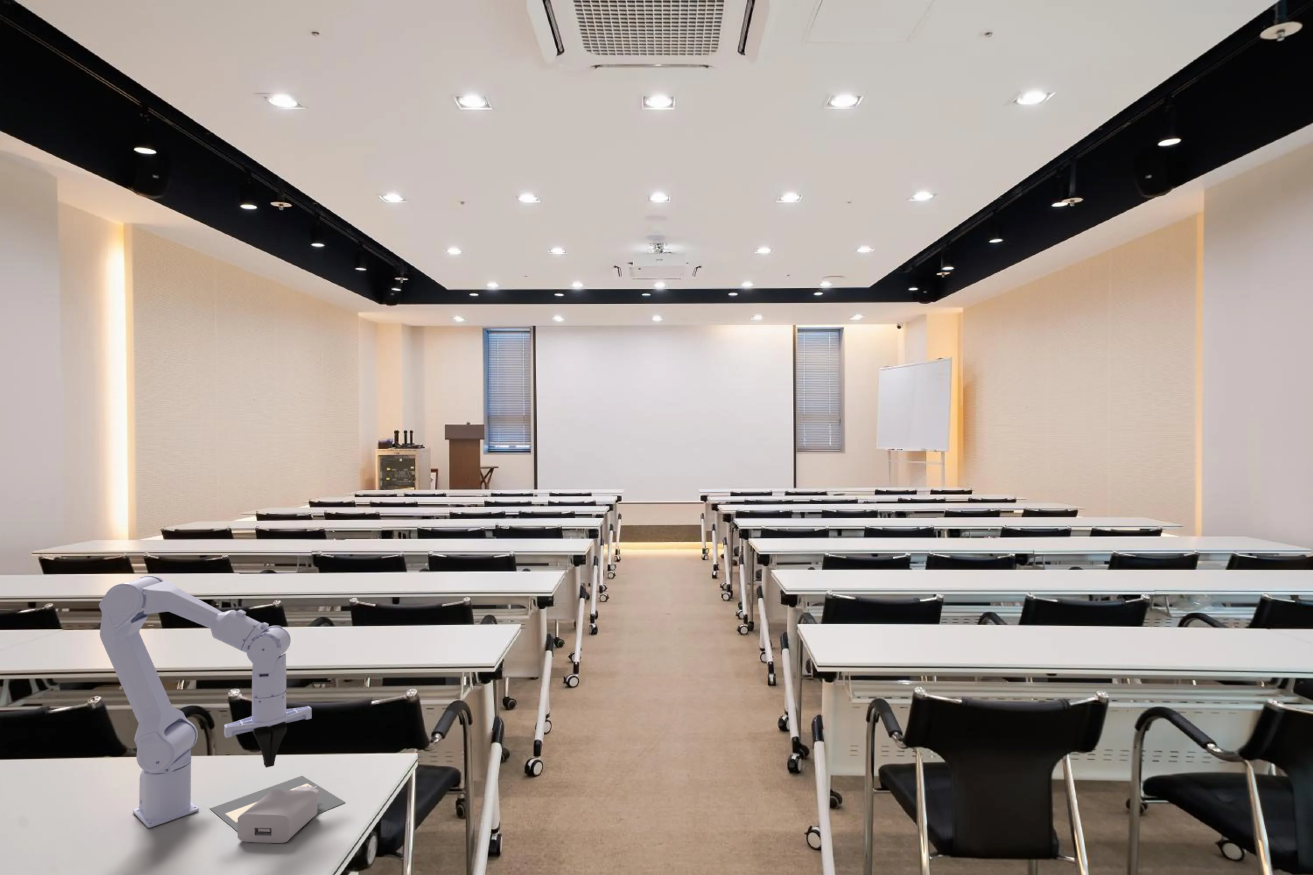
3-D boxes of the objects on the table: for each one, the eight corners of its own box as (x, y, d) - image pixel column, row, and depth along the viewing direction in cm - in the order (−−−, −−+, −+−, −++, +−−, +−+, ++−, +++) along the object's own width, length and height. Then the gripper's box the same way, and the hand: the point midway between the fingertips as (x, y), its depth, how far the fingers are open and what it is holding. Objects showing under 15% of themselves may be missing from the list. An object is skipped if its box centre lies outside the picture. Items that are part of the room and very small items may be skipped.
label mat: (209, 808, 130) (209, 807, 130) (302, 775, 144) (302, 775, 144) (249, 841, 119) (249, 840, 119) (345, 802, 133) (345, 801, 133)
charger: (335, 799, 133) (288, 843, 118) (289, 798, 134) (237, 841, 119) (335, 775, 134) (288, 815, 119) (289, 773, 134) (237, 813, 119)
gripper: (305, 679, 140) (305, 747, 140) (221, 696, 131) (221, 768, 131) (314, 688, 135) (314, 759, 134) (227, 706, 126) (227, 782, 125)
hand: (269, 764), depth 132 cm, fingers closed
